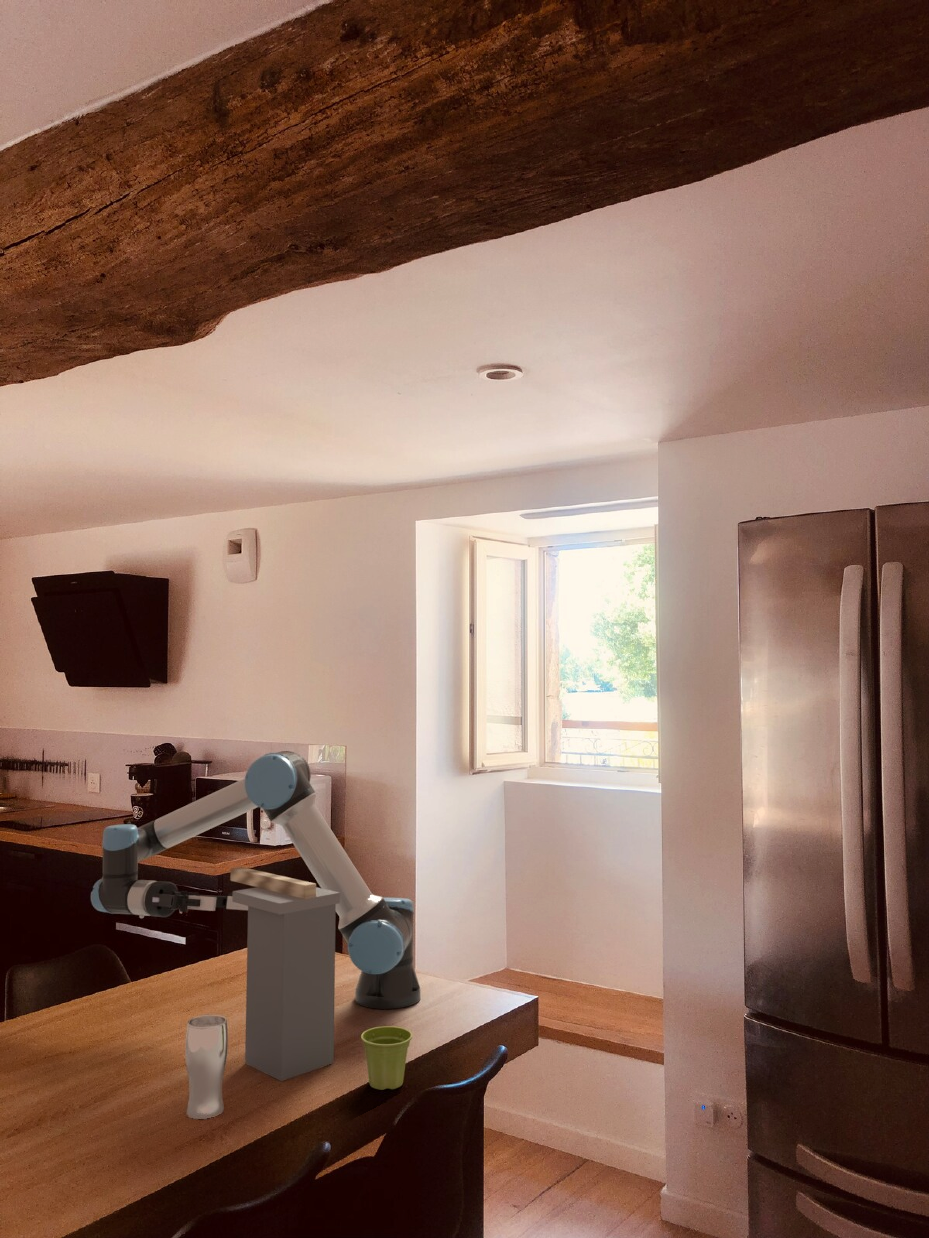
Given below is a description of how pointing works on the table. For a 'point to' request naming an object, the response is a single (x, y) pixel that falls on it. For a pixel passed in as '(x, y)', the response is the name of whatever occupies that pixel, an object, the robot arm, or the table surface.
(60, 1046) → the table surface
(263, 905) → the grey stand
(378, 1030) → the plant pot
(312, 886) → the wooden bar
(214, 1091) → the beer glass
